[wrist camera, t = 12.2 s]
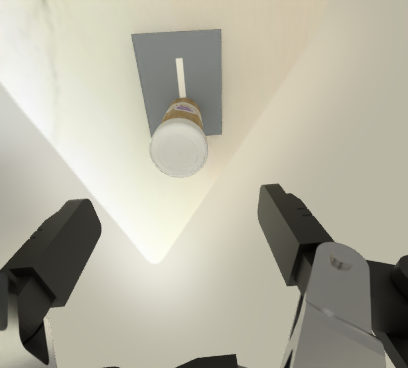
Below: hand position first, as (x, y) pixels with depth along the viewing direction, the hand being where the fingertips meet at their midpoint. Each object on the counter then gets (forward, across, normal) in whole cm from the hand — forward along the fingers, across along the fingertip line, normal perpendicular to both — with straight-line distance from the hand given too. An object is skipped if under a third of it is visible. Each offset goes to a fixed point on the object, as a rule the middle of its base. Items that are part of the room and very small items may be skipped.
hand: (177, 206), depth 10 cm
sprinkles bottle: (+20, 0, 0) cm, 20 cm away
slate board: (+21, 0, -3) cm, 21 cm away
